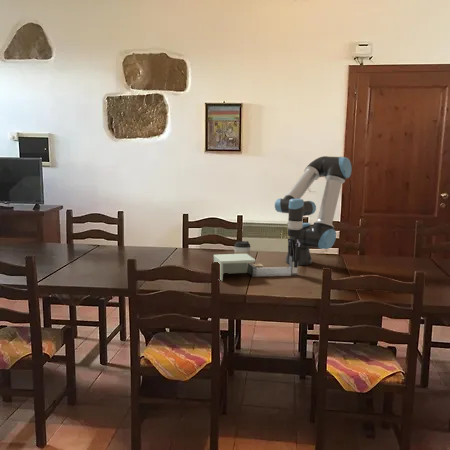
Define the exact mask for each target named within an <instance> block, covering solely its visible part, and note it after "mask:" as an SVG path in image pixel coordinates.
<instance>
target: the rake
mask: <svg viewBox="0 0 450 450" xmlns="http://www.w3.org/2000/svg"><path fill="white" fill-rule="evenodd" d="M292 260H293V256H290V258H289V263H288V266H270V267H269V266H263V267H256V266H255V265H253V264H254V263H253V262H250V263H248V269H247V273H248V275H250V276H252V277H253V278H254V277H256V278H257V277H290V276H291V277H292V276H293V277H295V276H296V277H297V276H298V272H297V273H292V263H293V262H292Z"/></svg>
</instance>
